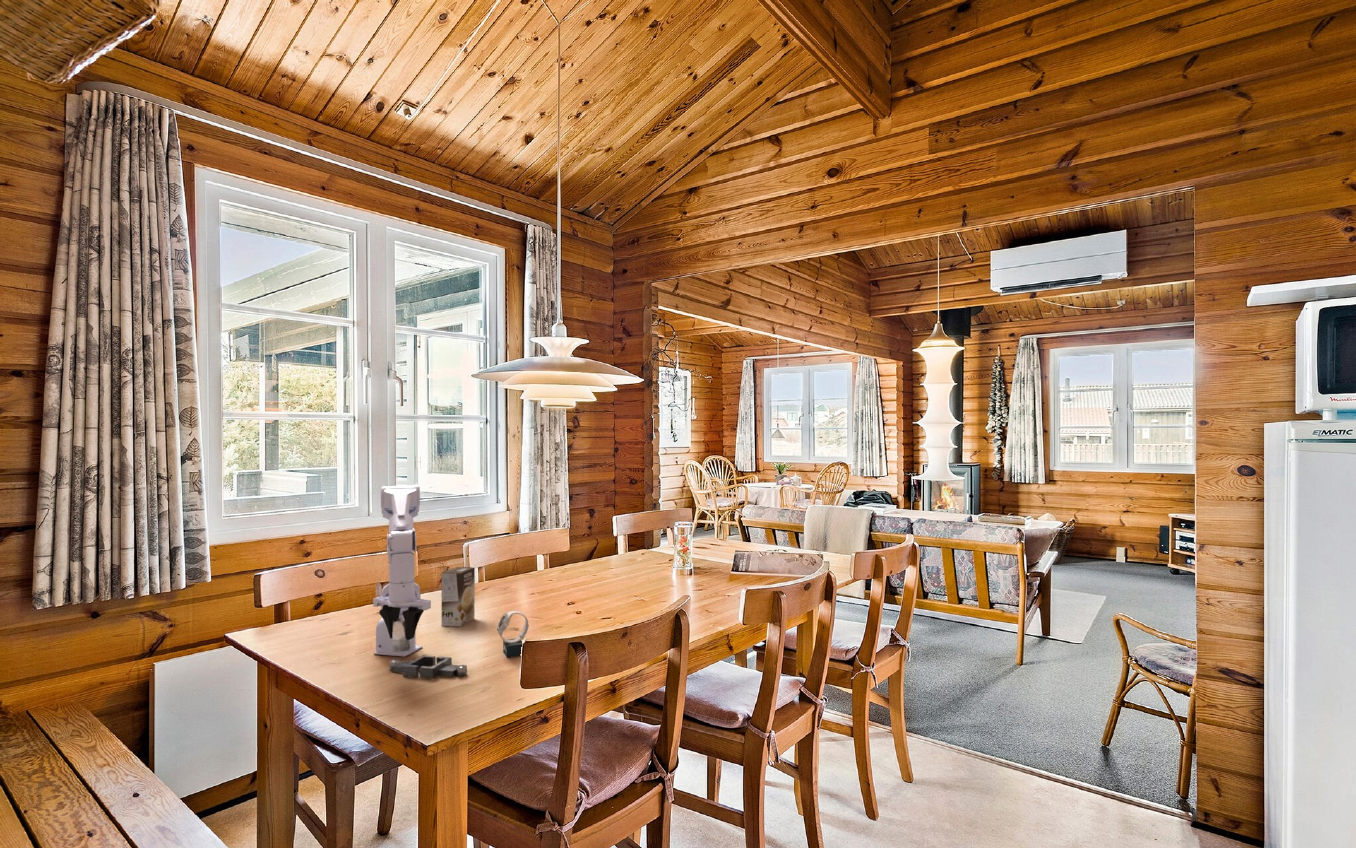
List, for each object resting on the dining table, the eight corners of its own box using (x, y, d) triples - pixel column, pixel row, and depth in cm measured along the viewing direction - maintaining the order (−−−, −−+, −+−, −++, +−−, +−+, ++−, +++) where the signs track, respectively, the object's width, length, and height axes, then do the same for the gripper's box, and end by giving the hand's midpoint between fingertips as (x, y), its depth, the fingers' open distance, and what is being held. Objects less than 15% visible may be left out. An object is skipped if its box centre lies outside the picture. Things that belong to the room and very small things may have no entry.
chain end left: (380, 674, 167) (379, 663, 167) (400, 663, 175) (400, 653, 175) (416, 677, 165) (416, 667, 165) (435, 666, 172) (435, 656, 172)
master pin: (388, 651, 163) (388, 621, 163) (400, 645, 167) (400, 616, 167) (402, 652, 162) (402, 622, 162) (414, 647, 166) (414, 618, 166)
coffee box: (460, 627, 206) (460, 573, 206) (440, 626, 207) (440, 572, 207) (475, 618, 215) (475, 567, 215) (456, 617, 216) (456, 566, 216)
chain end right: (419, 678, 164) (419, 667, 164) (439, 666, 172) (439, 656, 172) (457, 681, 162) (457, 670, 162) (474, 669, 170) (474, 659, 170)
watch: (495, 652, 182) (495, 611, 182) (526, 648, 186) (526, 607, 186) (499, 659, 177) (499, 616, 177) (530, 655, 181) (530, 612, 181)
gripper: (364, 583, 163) (364, 640, 163) (418, 586, 159) (418, 645, 159) (384, 576, 170) (384, 632, 170) (436, 579, 166) (436, 636, 166)
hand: (401, 638), depth 165 cm, fingers closed on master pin, 4 cm apart
